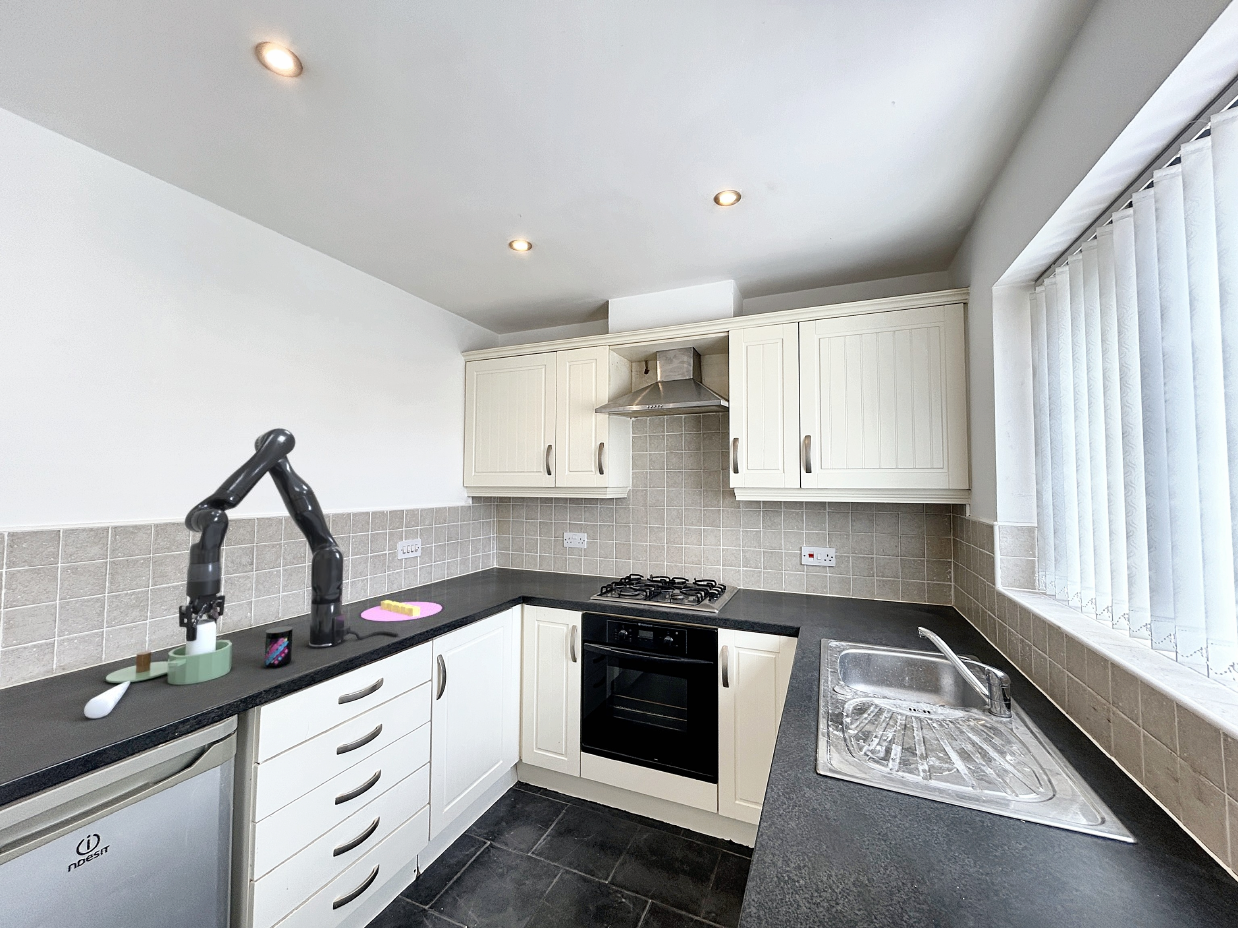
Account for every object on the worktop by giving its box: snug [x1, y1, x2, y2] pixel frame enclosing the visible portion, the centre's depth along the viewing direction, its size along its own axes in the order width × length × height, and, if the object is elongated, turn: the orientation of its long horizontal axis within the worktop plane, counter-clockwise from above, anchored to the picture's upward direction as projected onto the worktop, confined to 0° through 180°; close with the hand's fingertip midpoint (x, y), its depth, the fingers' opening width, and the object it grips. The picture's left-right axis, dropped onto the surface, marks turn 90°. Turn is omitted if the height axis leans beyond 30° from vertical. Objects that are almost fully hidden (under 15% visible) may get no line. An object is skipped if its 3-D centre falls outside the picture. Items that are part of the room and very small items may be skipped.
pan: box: [166, 639, 233, 686], centre depth 138 cm, size 14×19×8 cm
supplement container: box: [264, 625, 294, 669], centre depth 146 cm, size 7×7×10 cm
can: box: [185, 618, 217, 656], centre depth 139 cm, size 6×6×12 cm
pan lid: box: [105, 650, 168, 684], centre depth 138 cm, size 15×15×6 cm
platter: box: [360, 599, 443, 622], centre depth 209 cm, size 32×32×3 cm
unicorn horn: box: [83, 681, 131, 720], centre depth 122 cm, size 5×24×5 cm, turn 29°
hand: (201, 636), depth 139 cm, fingers closed on can, 6 cm apart
